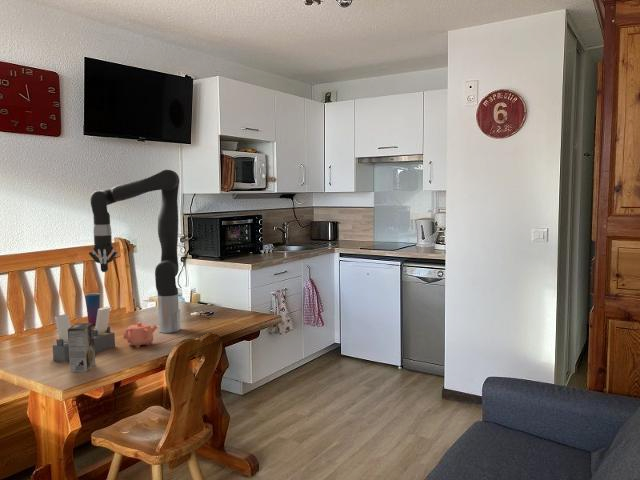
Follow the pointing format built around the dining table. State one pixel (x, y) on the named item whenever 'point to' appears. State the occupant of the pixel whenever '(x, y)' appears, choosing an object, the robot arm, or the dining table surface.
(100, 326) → the rocker
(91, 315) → the cup
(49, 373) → the dining table surface
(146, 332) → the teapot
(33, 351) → the dining table surface
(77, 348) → the coffee box
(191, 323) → the dining table surface
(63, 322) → the rocker
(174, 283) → the robot arm
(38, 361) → the dining table surface
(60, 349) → the grey block structure
